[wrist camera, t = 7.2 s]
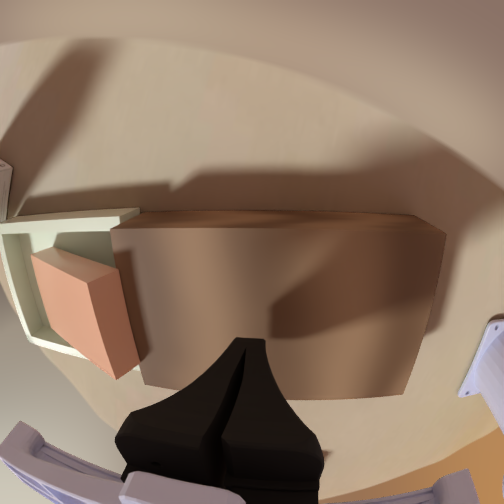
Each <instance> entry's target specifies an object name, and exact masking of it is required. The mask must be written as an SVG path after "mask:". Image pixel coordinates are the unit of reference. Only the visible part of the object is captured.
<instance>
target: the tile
mask: <svg viewBox="0 0 504 504" xmlns="http://www.w3.org/2000/svg"><path fill="white" fill-rule="evenodd" d="M30 255H31V259H32V263H33V268H34V272H35V276H36V279H37V283H38V287H39V290H40V294H41V297H42V301H43V304H44V307H45V310H46V313H47V316H48V319H49V322H50V325H51V328H52V329H53V330H54V331H55V332H56V333H57V334H59V335H60V336H61V337H62V338H63V339H64V340H65V341H67V342H68V343H69V344H70V345H71V346H73V347H74V348H75V349H76V350H77V351H79V352H80V353H81V354H82V355H84V356H85V357H86V358H87V359H89V360H90V361H91V362H92V363H94V364H95V365H96V366H98V367H99V368H100V369H102V370H103V371H104V372H106V373H107V374H108V375H110V376H111V377H113V378H114V379H115V380H117V379H119V378H120V377H122V376H123V375H124V374H126V373H127V372H129V371H130V370H131V369H133V368H134V367H136V366H137V365H139V364H140V360H139V356H138V352H137V349H136V345H135V341H134V337H133V334H132V330H131V326H130V321H129V317H128V313H127V308H126V304H125V299H124V294H123V290H122V285H121V279H120V274H119V269H116V268H113V267H110V266H107V265H104V264H101V263H98V262H95V261H92V260H89V259H87V258H84V257H81V256H78V255H75V254H72V253H70V252H67V251H64V250H61V249H59V248H56V247H50V248H47V249H44V250H41V251H38V252H36V253H33V254H30Z"/></svg>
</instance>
